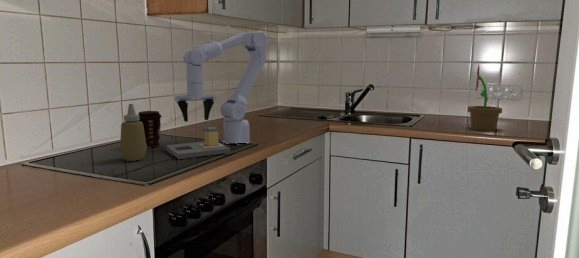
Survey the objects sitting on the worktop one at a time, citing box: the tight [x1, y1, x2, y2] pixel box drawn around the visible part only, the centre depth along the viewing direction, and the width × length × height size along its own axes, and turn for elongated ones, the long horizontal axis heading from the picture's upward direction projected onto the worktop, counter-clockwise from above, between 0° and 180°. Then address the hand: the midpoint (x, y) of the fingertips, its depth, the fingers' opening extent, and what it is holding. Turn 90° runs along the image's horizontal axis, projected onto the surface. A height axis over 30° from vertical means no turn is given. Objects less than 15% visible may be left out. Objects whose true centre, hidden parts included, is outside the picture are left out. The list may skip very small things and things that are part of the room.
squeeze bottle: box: [119, 103, 148, 162], centre depth 133 cm, size 8×8×18 cm
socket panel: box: [165, 141, 232, 159], centre depth 145 cm, size 18×16×2 cm
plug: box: [203, 126, 219, 147], centre depth 147 cm, size 4×4×8 cm
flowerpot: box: [467, 64, 503, 132], centre depth 191 cm, size 14×14×30 cm
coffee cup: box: [137, 110, 163, 149], centre depth 153 cm, size 9×8×13 cm
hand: (196, 120), depth 152 cm, fingers open, 7 cm apart
